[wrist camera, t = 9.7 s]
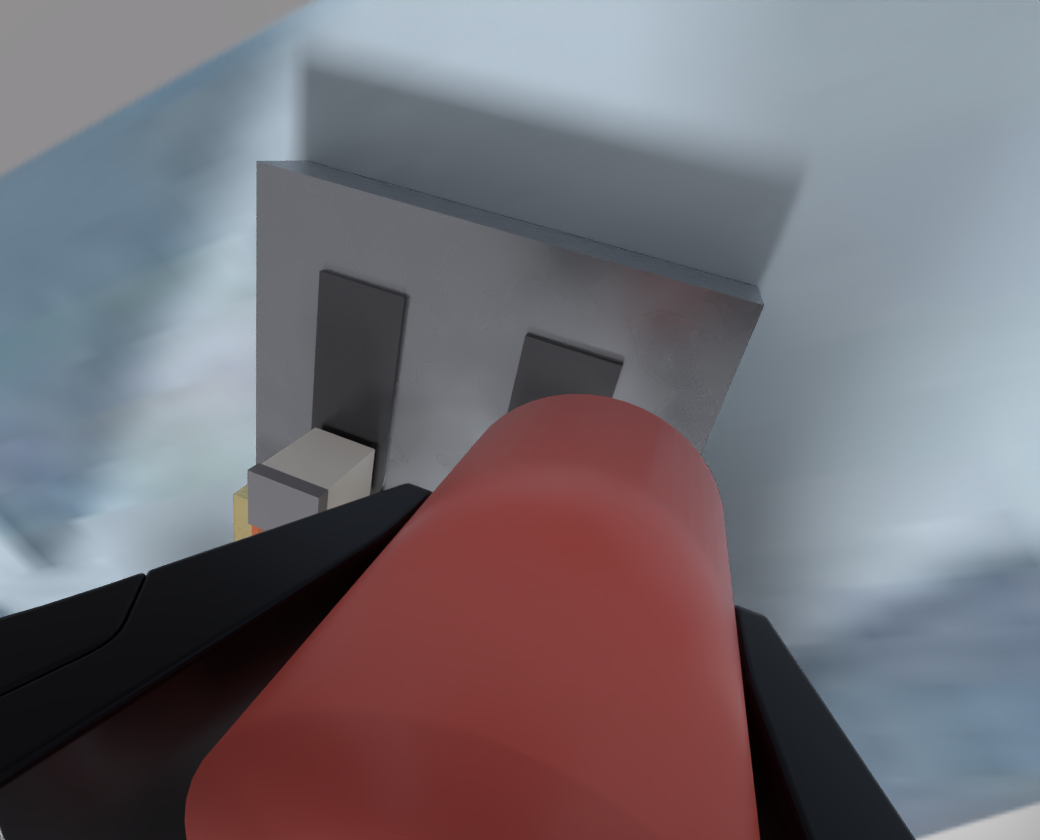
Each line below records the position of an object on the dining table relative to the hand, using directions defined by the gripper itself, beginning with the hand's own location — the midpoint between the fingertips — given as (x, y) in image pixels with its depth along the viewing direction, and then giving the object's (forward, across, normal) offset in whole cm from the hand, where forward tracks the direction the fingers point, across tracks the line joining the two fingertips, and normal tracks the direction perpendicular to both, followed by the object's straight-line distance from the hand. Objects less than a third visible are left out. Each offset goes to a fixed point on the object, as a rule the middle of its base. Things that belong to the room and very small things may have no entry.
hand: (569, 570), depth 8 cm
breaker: (+10, +9, +7) cm, 15 cm away
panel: (+13, +5, +8) cm, 16 cm away
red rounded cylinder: (+1, 0, 0) cm, 1 cm away
